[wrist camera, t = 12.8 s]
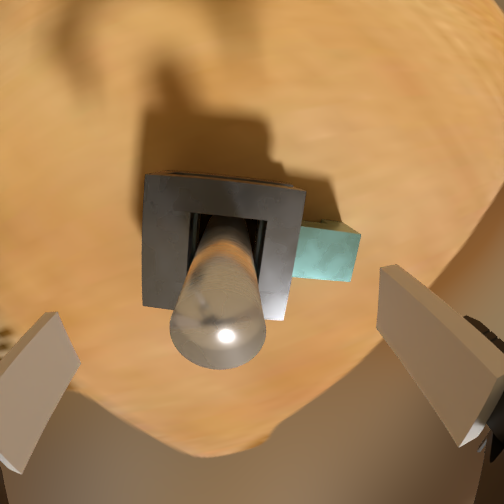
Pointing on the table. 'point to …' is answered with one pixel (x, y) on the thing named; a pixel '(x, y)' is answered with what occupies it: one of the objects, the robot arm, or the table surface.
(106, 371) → the table surface
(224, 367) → the pin
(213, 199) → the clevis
